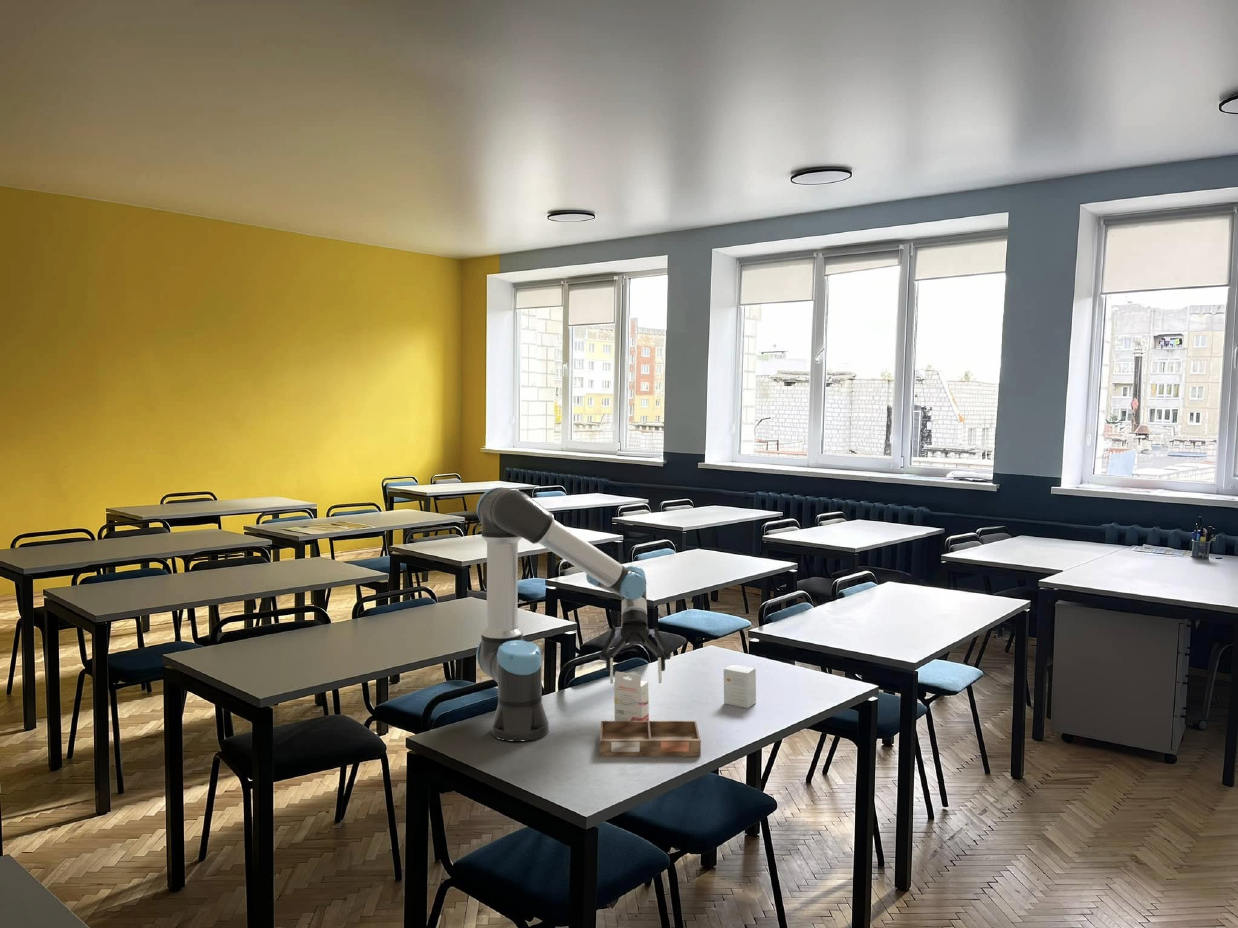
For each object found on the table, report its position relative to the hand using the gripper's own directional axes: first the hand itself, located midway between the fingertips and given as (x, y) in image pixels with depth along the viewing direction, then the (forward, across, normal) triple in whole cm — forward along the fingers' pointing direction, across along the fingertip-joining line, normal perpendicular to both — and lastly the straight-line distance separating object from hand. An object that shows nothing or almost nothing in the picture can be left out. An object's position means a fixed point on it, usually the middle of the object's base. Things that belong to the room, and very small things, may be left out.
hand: (635, 681), depth 234 cm
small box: (0, -31, -16) cm, 35 cm away
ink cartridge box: (+10, +1, -5) cm, 12 cm away
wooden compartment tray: (+21, -3, +7) cm, 22 cm away
